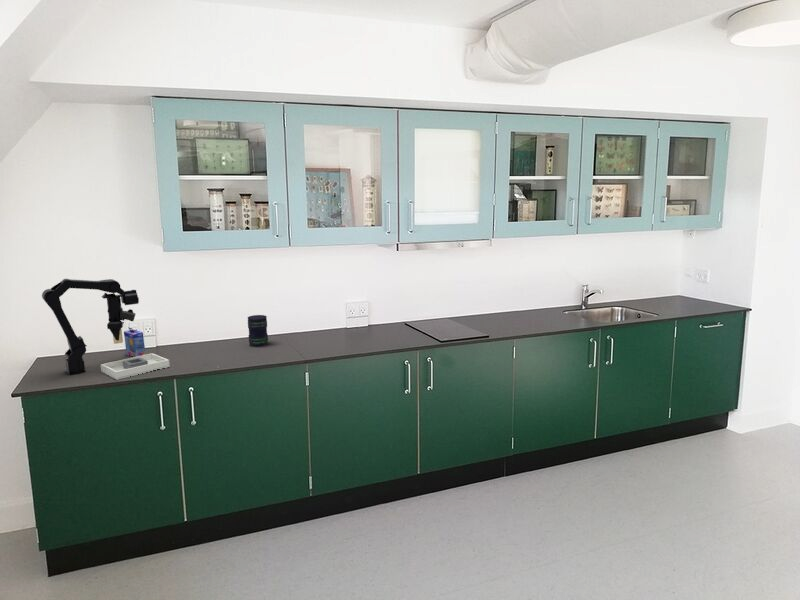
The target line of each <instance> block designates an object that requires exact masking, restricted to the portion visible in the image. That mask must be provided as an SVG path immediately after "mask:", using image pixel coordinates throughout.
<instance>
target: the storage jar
mask: <svg viewBox="0 0 800 600" xmlns="http://www.w3.org/2000/svg"><path fill="white" fill-rule="evenodd" d="M267 318H268V316H267V315H264V314H255V315H249V316H247V327H248V343H249V344H248V345H249V347H251V348H263V347H267V346H268V345H269V343H268V342H269V336H268V335H269V334H268V329H267V328H268V320H267Z"/></svg>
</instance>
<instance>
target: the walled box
mask: <svg viewBox="0 0 800 600" xmlns="http://www.w3.org/2000/svg"><path fill="white" fill-rule="evenodd" d="M167 367H169V368H171V366H170V359H167V358H166V357H162V356H160V355H159V354H155V353H153V352H152V353H146V355H142V356H137V357H128V358H124V359H123V358H122V359H119V360H114V361H110V362H104V363H101V364H100V372H101V373H102V374H105V375H106V376H108V375H109V377H111V378H112V379H115V380H116V381H118V380H122V379H126V378H130V376H131V377H135V376H139V375H143V374H147V373H146V372H148V373H151V372H150V371H152V372H154V371H153V370H156V371H158V370H157V369H160V370H163V369H162V368H165V369H168V368H167ZM142 373H143V374H142ZM138 374H139V375H138Z"/></svg>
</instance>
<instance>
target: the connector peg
mask: <svg viewBox="0 0 800 600" xmlns="http://www.w3.org/2000/svg"><path fill="white" fill-rule="evenodd" d="M122 329H123V328H121V329H120V335H119V340H116V339H115V337H114V336H113V335H112V339H113V344H114V345H115V344H123V343H124V340H123V330H122Z"/></svg>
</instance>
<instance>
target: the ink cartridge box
mask: <svg viewBox="0 0 800 600" xmlns="http://www.w3.org/2000/svg"><path fill="white" fill-rule="evenodd" d="M128 329H129V330H124V331H123V337H124V345H125V346H124V347H125V354H126V356H129V355H130V356H129V357H131V356H133V357H137V356H142V355H146V354H147V353H146V347H145V346H146V345H145V340H144V339H145V337H144V332H143V331H140V330H137V329H133V328H132V327H128Z"/></svg>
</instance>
